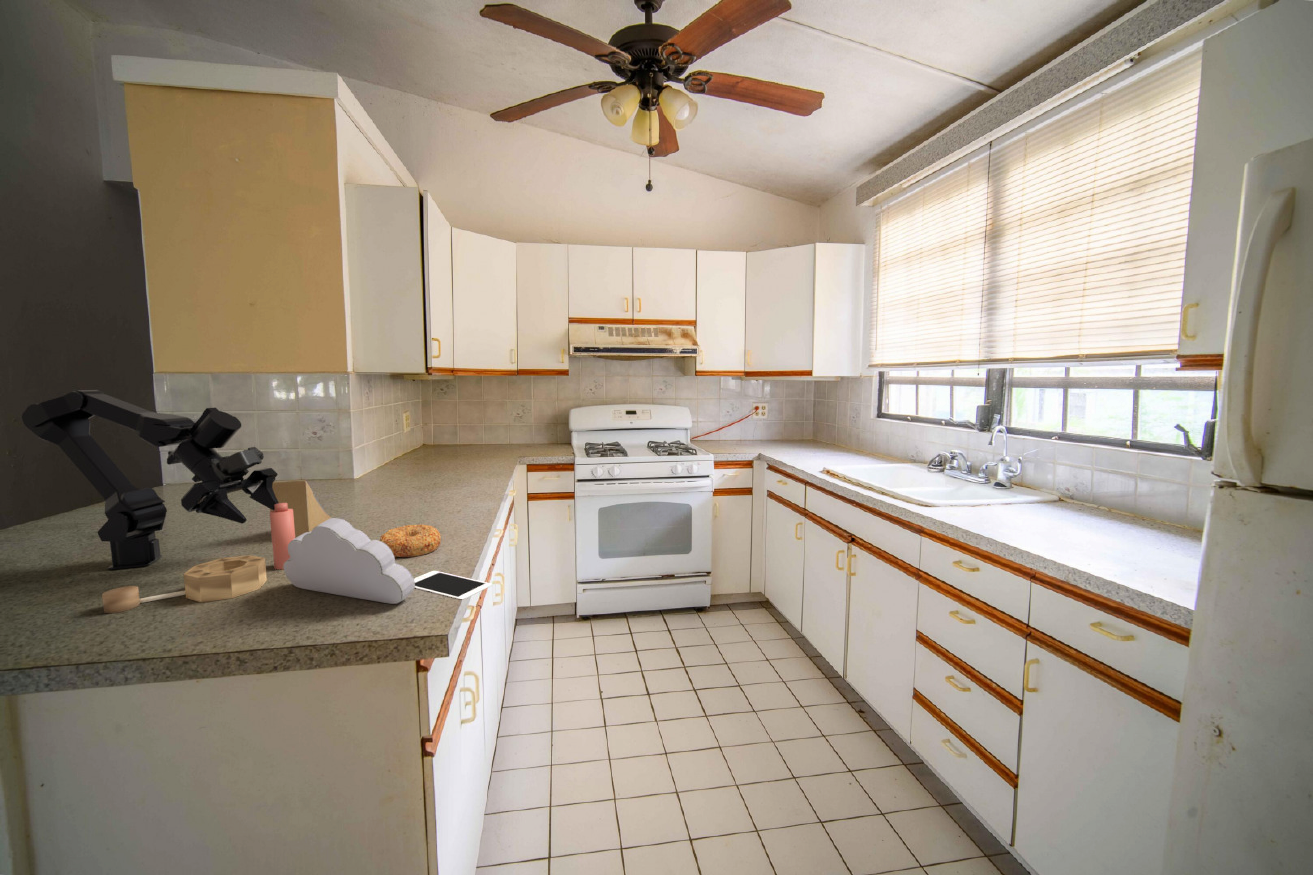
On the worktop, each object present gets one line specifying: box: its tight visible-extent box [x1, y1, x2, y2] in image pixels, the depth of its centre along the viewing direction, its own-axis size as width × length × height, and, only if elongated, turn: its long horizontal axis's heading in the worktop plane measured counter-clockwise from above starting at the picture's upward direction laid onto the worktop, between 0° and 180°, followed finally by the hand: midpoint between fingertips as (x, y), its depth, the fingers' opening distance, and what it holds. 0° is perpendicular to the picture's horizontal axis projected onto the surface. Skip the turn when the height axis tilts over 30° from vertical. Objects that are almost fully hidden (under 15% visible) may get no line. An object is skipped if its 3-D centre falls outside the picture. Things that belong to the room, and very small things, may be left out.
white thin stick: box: [139, 589, 186, 604], centre depth 95 cm, size 12×1×1 cm, turn 128°
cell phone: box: [413, 570, 493, 601], centre depth 102 cm, size 8×16×1 cm, turn 64°
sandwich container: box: [269, 479, 331, 538], centre depth 136 cm, size 9×15×15 cm, turn 11°
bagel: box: [378, 523, 442, 558], centre depth 122 cm, size 13×14×5 cm
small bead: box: [101, 585, 141, 614], centre depth 91 cm, size 4×4×3 cm
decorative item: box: [283, 517, 415, 605], centre depth 96 cm, size 28×10×15 cm, turn 72°
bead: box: [183, 554, 268, 603], centre depth 99 cm, size 11×11×4 cm
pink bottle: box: [269, 503, 295, 571], centre depth 111 cm, size 4×4×14 cm
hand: (262, 515), depth 110 cm, fingers open, 9 cm apart
